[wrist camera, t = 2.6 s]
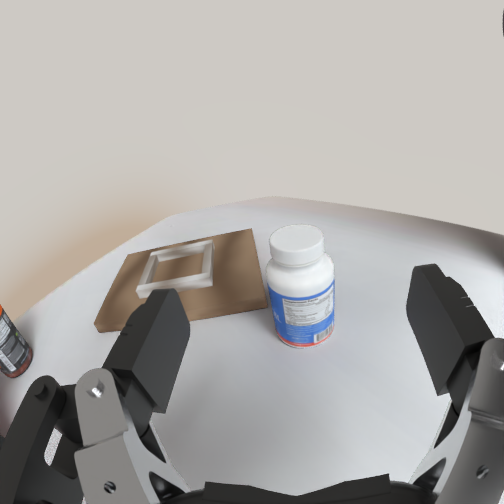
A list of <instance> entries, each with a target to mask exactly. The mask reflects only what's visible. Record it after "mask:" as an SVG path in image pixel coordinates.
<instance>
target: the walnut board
mask: <svg viewBox="0 0 504 504" xmlns="http://www.w3.org/2000/svg"><path fill="white" fill-rule="evenodd" d="M167 288H174V289H175V290H176V291H177V292H178V295H179V297H180V300H181V303H182V305H183V308H184V310H185V313H186V315H187V318H188V320H189V321H194V320H200V319H206V318H212V317H218V316H224V315H230V314H235V313H241V312H246V311H251V310H257V309H262V308H267V307H268V306H267V301H266V296H265V291H264V286H263V281H262V276H261V271H260V266H259V261H258V256H257V252H256V247H255V242H254V237H253V232H252V228H251V229H246V230H241V231H236V232H231V233H226V234H221V235H216V236H212V237H207V238H202V239H197V240H192V241H188V242H183V243H178V244H174V245H169V246H164V247H160V248H155V249H151V250H146V251H142V252H137V253H133V254H128V255H127V257H126V259H125V261H124V263H123V265H122V267H121V269H120V270H119V272H118V274H117V276H116V278H115V280H114V282H113V284H112V286H111V288H110V290H109V292H108V294H107V296H106V298H105V300H104V302H103V304H102V307H101V309H100V311H99V313H98V315H97V317H96V320H95V322H94V325H95V326H96V328H97V330H98V331H99V333H102V332H111V331H120V330H122V329H123V327H125V324H126V322H127V320H128V318H129V317H130V315H131V313H132V312H133V311H135V310H136V309H137V308H138V307H139V306H140V305H141V304H145V302H146V300H147V298H148V296H149V295H150V293H151V291H152V290H154V289H167Z"/></svg>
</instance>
